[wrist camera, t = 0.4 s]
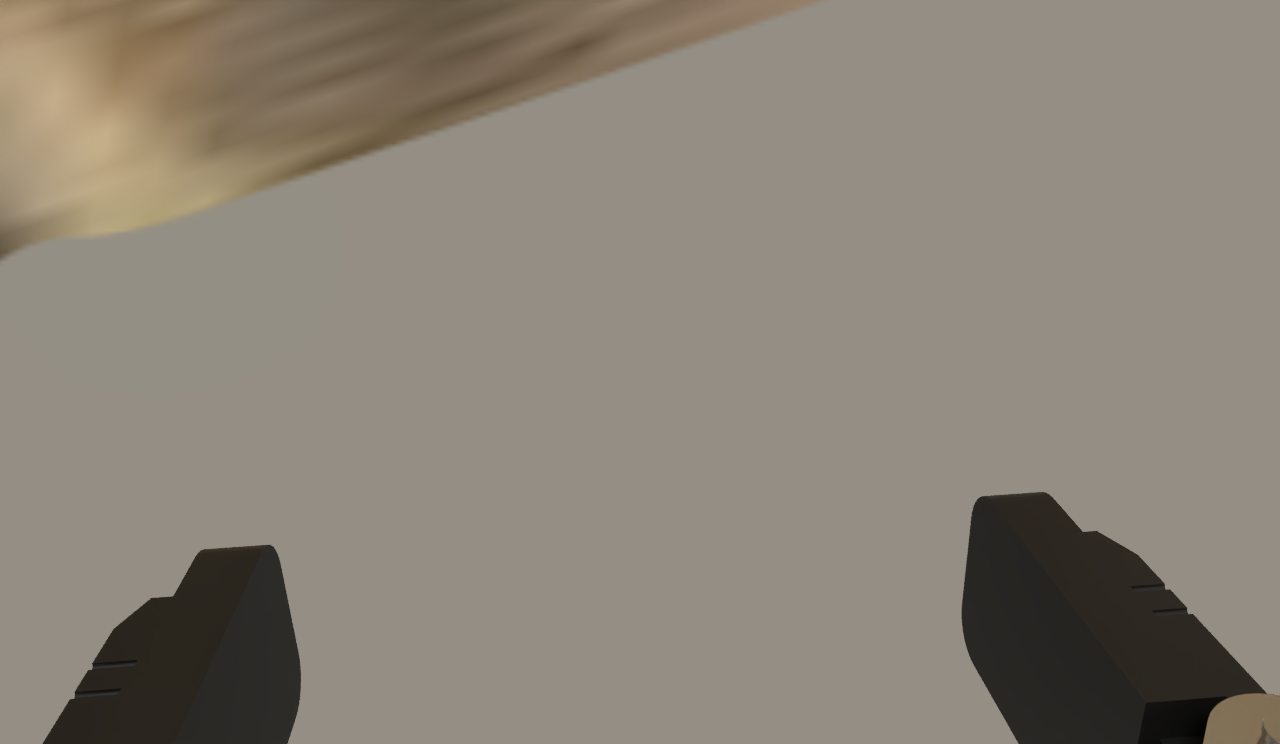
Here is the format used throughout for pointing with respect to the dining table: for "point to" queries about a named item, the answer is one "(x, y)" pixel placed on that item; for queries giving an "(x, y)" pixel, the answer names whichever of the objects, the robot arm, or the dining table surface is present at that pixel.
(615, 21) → the dining table surface
